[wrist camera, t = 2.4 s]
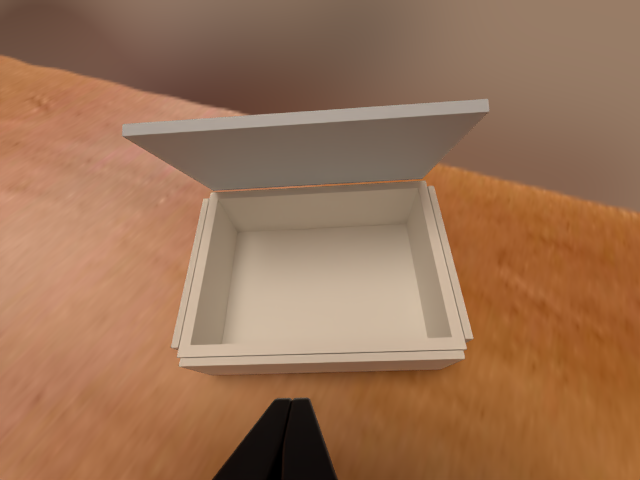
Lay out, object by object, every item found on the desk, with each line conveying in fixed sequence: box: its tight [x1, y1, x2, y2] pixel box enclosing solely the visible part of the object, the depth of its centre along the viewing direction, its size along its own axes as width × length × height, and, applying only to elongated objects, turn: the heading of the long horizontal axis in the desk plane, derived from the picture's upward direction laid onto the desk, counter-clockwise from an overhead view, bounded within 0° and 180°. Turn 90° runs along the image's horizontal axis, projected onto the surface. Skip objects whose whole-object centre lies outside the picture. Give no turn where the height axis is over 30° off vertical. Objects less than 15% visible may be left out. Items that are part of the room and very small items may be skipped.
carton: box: [171, 181, 473, 375], centre depth 20 cm, size 11×16×5 cm
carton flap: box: [122, 99, 489, 191], centre depth 16 cm, size 9×14×1 cm
